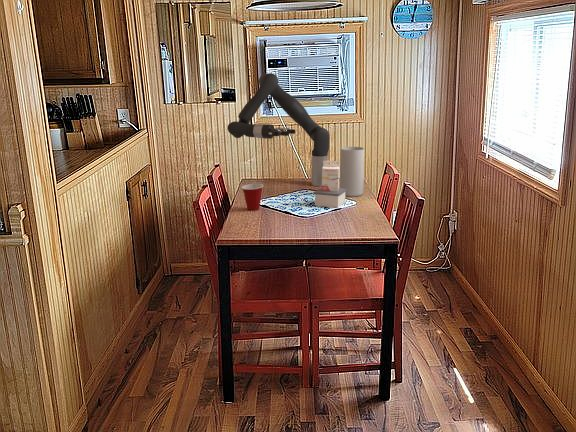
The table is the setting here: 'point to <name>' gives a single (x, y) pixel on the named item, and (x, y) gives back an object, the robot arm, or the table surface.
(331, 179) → the ink cartridge box
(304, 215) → the table surface
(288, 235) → the table surface
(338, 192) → the podium
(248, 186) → the plastic cup
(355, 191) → the cylinder vase
